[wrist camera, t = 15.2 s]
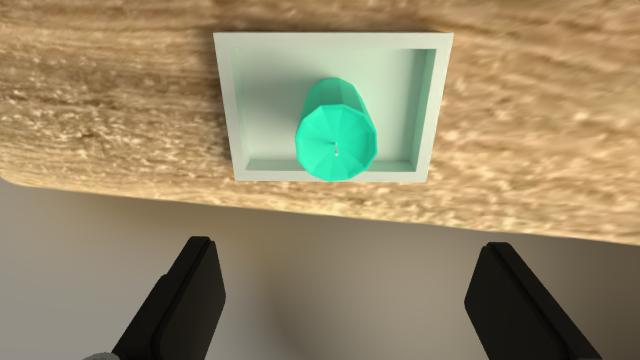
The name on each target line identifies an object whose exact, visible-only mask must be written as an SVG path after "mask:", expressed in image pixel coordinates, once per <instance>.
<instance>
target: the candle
mask: <svg viewBox="0 0 640 360" xmlns="http://www.w3.org/2000/svg"><path fill="white" fill-rule="evenodd" d="M294 139H295V147H296V154H297V160H298V161H299V163H300V164H301V165H302V166H303V167H304V168H305V169H306V171H307V172H308V173H309V174H310V175H312V176H315V177H317V178H320V179H323V180H325V181H328V182H333V181H341V180H348V179H351V178H353V177H354V176H356V175H358V174H360V173H362V172H363V171H365V170H367V169H368V167H369V166H370V164H371V163H372V161H373V160H374V158H375V156H376V155H377V153H378V150H377V131H376V129H375V126H374V124H373V122H372V120H371V118H370V115H369V113H368V111H367V109H366V106H365V104H364V102H363V100H362V98H361V96H360V94H359V93H358V91H357V90H356V88H355V87H354V85H353V84H351V83H349V82H346V81H344V80H342V79H340V78H332V79H323V80H321V81H320V82H319V83H318V84H316V85H315V86H314V87H312V88H311V89H310V90H309V93H308V95H307V98H306V100H305V103H304V106H303V109H302V113H301V116H300V120H299V124H298V127H297V131H296V134H295V138H294Z"/></svg>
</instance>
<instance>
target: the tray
mask: <svg viewBox="0 0 640 360" xmlns="http://www.w3.org/2000/svg"><path fill="white" fill-rule="evenodd" d="M453 36H454V33H449V32H278V31H225V32H216V33H213V37H214V43H215V50H216V57H217V63H218V70H219V77H220V83H221V90H222V97H223V103H224V110H225V116H226V123H227V130H228V136H229V143H230V150H231V156H232V163H233V170H234V176H235V180H236V181H325V180H323V179H320V178H317V177H315V176H312V175H310V174H309V173H308V172H307V171H306V169H305V168H304V167H303V166H302V165H301V164H300V163H299V161H298V160H297V154H296V147H295V139H294V138H295V134H296V131H297V127H298V124H299V120H300V116H301V113H302V109H303V106H304V103H305V100H306V98H307V95H308V93H309V90H310V89H311V88H312V87H314V86H315V85H316V84H318V83H319V82H320V81H321V80H323V79H332V78H340V79H342V80H344V81H346V82H349V83H351V84H353V85H354V87H355V88H356V90H357V91H358V93H359V94H360V96H361V98H362V100H363V102H364V104H365V106H366V109H367V111H368V113H369V115H370V118H371V120H372V122H373V124H374V126H375V129H376V131H377V150H378V153H377V155H376V156H375V158H374V160H373V161H372V163H371V164H370V166H369V167H368V169H367V170H365V171H363V172H362V173H360V174H358V175H356V176H354V177H353V178H351V179H348V180H341V181H334V182H426V179H427V173H428V168H429V163H430V158H431V152H432V147H433V142H434V136H435V131H436V126H437V121H438V115H439V110H440V105H441V99H442V94H443V89H444V84H445V78H446V73H447V68H448V62H449V57H450V52H451V46H452V41H453Z"/></svg>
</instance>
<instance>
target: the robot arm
mask: <svg viewBox="0 0 640 360" xmlns="http://www.w3.org/2000/svg"><path fill="white" fill-rule="evenodd" d="M225 298H226V293H225V289H224V283H223V278H222V274H221V269H220V264H219V259H218V254H217V249H216V245H215V242H214V241H211V240H210V238H209V237H205V236H201V237H200V236H192V237H190V239H189V240H188V241H187V243H186V245H185V246H184V248H183V249H182V251H181V253H180V254H179V256H178V257H177V259H176V260H175V262H174V264H173V265H172V267H171V268H170V270H169V271H168V273H167V274H165V275H163V276H161V278H160V279H159V280H158V282H157V283H156V284H155V286H154V288H153V289H152V291H151V292H150V294H149V295H148V297H147V298H146V300H145V301H144V303H143V304H142V306H141V307H140V309H139V311H138V312H137V314H136V315H135V317H134V318H133V320H132V321H131V323H130V324H129V326H128V327H127V329H126V330H125V332H124V333H123V335H122V337H121V338H120V340H119V341H118V343H117V344H116V346H115V347H114V349H113V350H112V352H111V353H106V352H104V353H98V354H94V355H92V356H89V357H87V358H85V359H83V360H204V359H205V356H206V354H207V351H208V348H209V345H210V343H211V340H212V337H213V335H214V332H215V329H216V326H217V324H218V320H219V318H220V315H221V313H222V310H223V307H224V304H225ZM464 304H465V309H466V311H467V314H468V316H469V318H470V320H471V322H472V324H473V326H474V328H475V331H476V333H477V335H478V337H479V339H480V341H481V343H482V345H483V348H484V350H485V352H486V354H487V356H488V358H489V360H602V357H601V356H600V355H599V354H598V352H597V351H596V350H595V349H594V347H593V346H592V345H591V344H590V343H589V341H588V340H587V339H586V338H585V336H584V335H583V334H582V333H581V331H580V330H579V329H578V328H577V326H576V325H575V324H574V323H573V322H572V320H571V319H570V318H569V316H568V315H567V314H566V313H565V312H564V310H563V309H562V308H561V307H560V305H559V304H558V303H557V302H556V300H555V299H554V298H553V297H552V295H551V294H550V293H549V292H548V290H547V289H546V288H545V287H544V286H543V284H542V283H541V282H540V281H539V279H538V278H537V277H536V276H535V274H534V273H533V272H532V271H531V269H530V268H529V267H528V266H527V265H526V263H525V262H524V261H523V260H522V259H521V257H520V256H519V255H518V253H517V252H516V251H515V250H514V248H513V247H512V246H511V245H510V244H509V243H507V242H489V243H488V244H487V245H486V246H483V248H482V249H481V252H480V255H479V258H478V261H477V264H476V267H475V270H474V273H473V276H472V279H471V282H470V285H469V288H468V291H467V294H466V297H465V301H464Z"/></svg>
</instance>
